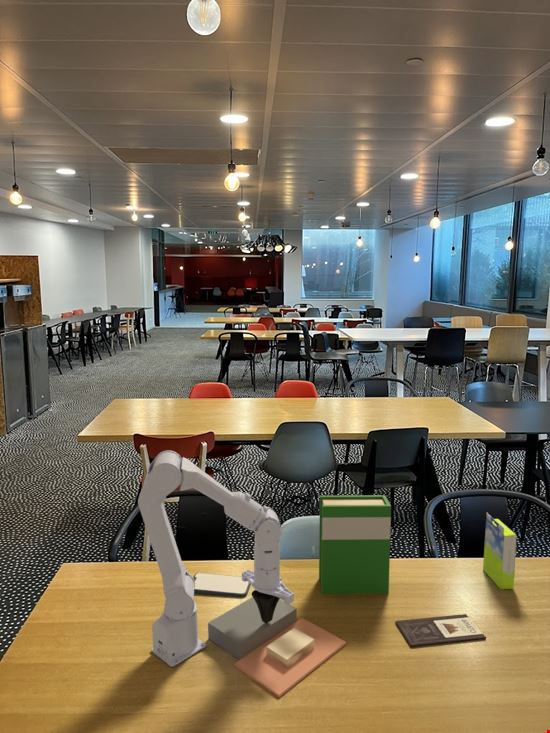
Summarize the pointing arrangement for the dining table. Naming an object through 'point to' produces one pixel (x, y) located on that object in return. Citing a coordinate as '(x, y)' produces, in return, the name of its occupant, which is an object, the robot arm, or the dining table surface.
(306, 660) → the mat
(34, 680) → the dining table surface
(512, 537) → the box
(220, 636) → the block
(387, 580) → the hardback book
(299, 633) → the tile
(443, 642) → the chocolate bar
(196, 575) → the phone case
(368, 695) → the dining table surface
